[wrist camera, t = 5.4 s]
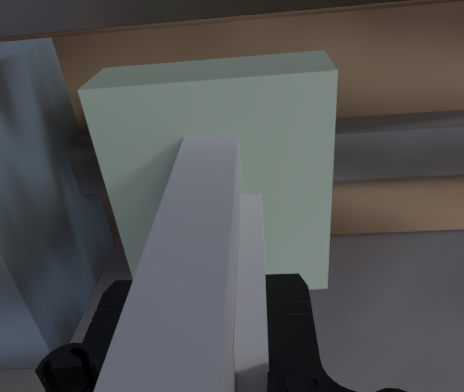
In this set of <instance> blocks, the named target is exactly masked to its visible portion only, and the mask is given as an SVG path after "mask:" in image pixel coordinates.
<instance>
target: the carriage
mask: <svg viewBox="0 0 464 392" xmlns="http://www.w3.org/2000/svg"><path fill="white" fill-rule="evenodd" d="M337 82H338V69H337V68H336V66H335V65H334V63H333V62H332V60H331V59H330V57H329V56H328V55H327V53H326V52H325V50H319V51H307V52H294V53H282V54H270V55H257V56H245V57H233V58H220V59H208V60H196V61H183V62H171V63H159V64H146V65H134V66H122V67H109V68H103V69H102V70H101V71H100V72H98V73H97V74H96V75H95V76H94V77H93V78H91V79H90V80H89V81H88V82H87V83H85V84H84V85H83V86H82V87H81V88H79V89H78V90H77V91H78V94H79V98H80V101H81V104H82V108H83V111H84V115H85V118H86V121H87V125H88V128H89V132H90V135H91V139H92V142H93V145H94V149H95V152H96V156H97V159H98V162H99V166H100V169H101V173H102V176H103V179H104V183H105V186H106V190H107V193H108V196H109V200H110V203H111V207H112V210H113V214H114V217H115V220H116V224H117V227H118V231H119V234H120V237H121V241H122V244H123V248H124V251H125V254H126V258H127V261H128V265H129V268H130V272H131V275H132V278H133V282H132V285H131V288H130V290H129V293H128V296H127V299H126V302H125V304H124V307H123V310H122V313H121V316H120V319H119V321H118V324H117V327H116V330H115V333H114V335H113V338H112V341H111V344H110V347H109V349H108V352H107V355H106V358H105V361H104V364H103V366H102V369H101V372H100V375H99V378H98V380H97V383H96V386H95V389H94V392H238V388H237V380H236V373H235V365H234V357H233V347H234V325H235V303H236V281H237V260H238V238H239V216H240V195H258V194H262V207H263V225H264V244H265V264H266V274H295V273H299V274H300V276H301V277H302V278H303V280H304V281H305V282H306V284H307V285H308V289H327V288H328V267H329V247H330V226H331V206H332V185H333V164H334V144H335V123H336V103H337Z"/></svg>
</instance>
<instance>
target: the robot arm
mask: <svg viewBox="0 0 464 392" xmlns="http://www.w3.org/2000/svg"><path fill="white" fill-rule="evenodd" d="M132 282H133V280H124V281H114V282H113V283H112V285H111V286H110V287H109V288H108V289H107V290H106V291H105V292H104V293H103V295H102V297H101V300H100V302H99V304H98V307H97V310H96V311H95V314H94V316H93V318H92V322H91V323H90V326H89V328H88V330H87V333H86V335H85V337H84V340H83V342H82V343H70V344H66V345H62V346H60V347H59V348H57V349H55V350H53V351H51V352H50V353H49V354H48V355H47V356H46V357H45V358H44V359H42V360H41V362H40V363H39V365H38V367H37V368H36V370H35V372H36V374H37V375H38V377H39V379H40V381H41V383H42V385H43V386H44V388H45V390H46V392H94V389H95V386H96V383H97V380H98V378H99V375H100V372H101V369H102V366H103V364H104V361H105V358H106V355H107V352H108V349H109V347H110V344H111V341H112V338H113V335H114V333H115V330H116V327H117V324H118V321H119V319H120V316H121V313H122V310H123V307H124V304H125V302H126V299H127V296H128V293H129V290H130V288H131V285H132ZM233 357H234V365H235V373H236V380H237V388H238V392H356V391H352V390H349V389H347V388H345V387H342V386H340V385H339V384H337V383H336V382H334V381H333V380H332V379H331V378H330V377H329V376H328V375H327V374H326V372H325V370H324V369H323V367H322V364H321V361H320V356H319V350H318V344H317V338H316V332H315V325H314V319H313V315H312V307H311V302H310V295H309V289H308V285H307V284H306V282H305V281H304V280H303V278H302V277H301V276H300V274H299V273H295V274H266V264H265V244H264V225H263V207H262V194H258V195H240V216H239V238H238V260H237V281H236V303H235V325H234V347H233ZM376 392H406V391H403V390H401V389H397V388H385V389H382V390H379V391H376Z"/></svg>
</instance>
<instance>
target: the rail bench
mask: <svg viewBox="0 0 464 392" xmlns="http://www.w3.org/2000/svg"><path fill="white" fill-rule="evenodd" d="M319 50H325V52H326V53H327V55H328V56H329V57H330V59H331V60H332V62H333V63H334V65H335V66H336V68H337V69H338V82H337V103H336V123H335V144H334V164H333V185H332V206H331V226H330V235H342V234H365V233H388V232H411V231H434V230H457V229H464V0H411V1H400V2H389V3H377V4H366V5H355V6H344V7H333V8H322V9H310V10H299V11H288V12H277V13H266V14H255V15H243V16H232V17H221V18H210V19H199V20H188V21H176V22H165V23H154V24H143V25H132V26H121V27H109V28H98V29H87V30H76V31H65V32H54V33H42V34H31V35H20V36H9V37H0V369H36V368H37V367H38V365H39V363H40V362H41V360H42V359H44V358H45V357H46V356H47V355H48V354H49V353H50V352H51V351H53V350H55V349H57V348H59V347H60V346H62V345H66V344H69V343H70V341H71V339H72V337H73V335H74V332H75V330H76V328H77V326H78V324H79V321H80V319H81V317H82V315H83V313H84V311H85V308H86V306H87V304H88V302H89V300H90V297H91V295H92V293H93V291H94V289H95V287H96V284H97V282H98V280H99V278H100V276H101V273H102V271H103V269H104V267H105V265H106V263H107V260H108V258H109V256H110V254H111V252H112V249H113V247H114V245H115V244H122V241H121V237H120V234H119V231H118V227H117V224H116V220H115V217H114V214H113V210H112V207H111V203H110V200H109V196H108V193H107V190H106V186H105V183H104V179H103V176H102V173H101V169H100V166H99V162H98V159H97V156H96V152H95V149H94V145H93V142H92V139H91V135H90V132H89V128H88V125H87V121H86V118H85V115H84V111H83V108H82V104H81V101H80V98H79V94H78V91H77V90H78V89H79V88H81V87H82V86H83V85H84V84H85V83H87V82H88V81H89V80H90V79H91V78H93V77H94V76H95V75H96V74H97V73H98V72H100V71H101V70H102V69H103V68H109V67H122V66H134V65H146V64H159V63H171V62H183V61H196V60H208V59H220V58H233V57H245V56H257V55H270V54H282V53H294V52H307V51H319Z"/></svg>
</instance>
